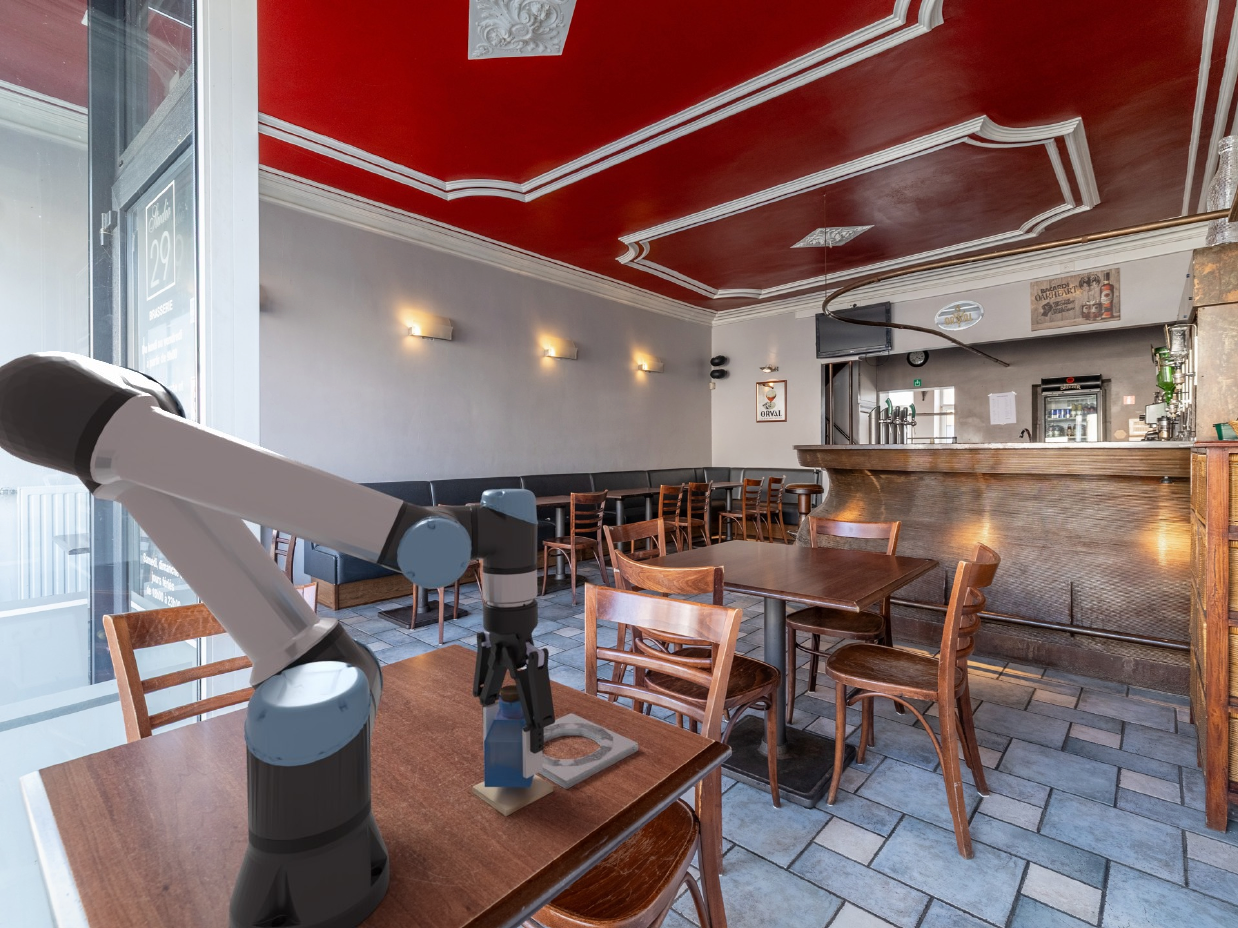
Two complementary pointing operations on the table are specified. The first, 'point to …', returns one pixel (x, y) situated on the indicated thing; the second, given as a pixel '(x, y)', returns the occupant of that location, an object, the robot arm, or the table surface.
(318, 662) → the robot arm
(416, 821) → the table surface
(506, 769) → the perfume bottle
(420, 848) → the table surface
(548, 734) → the eye plate
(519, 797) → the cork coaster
